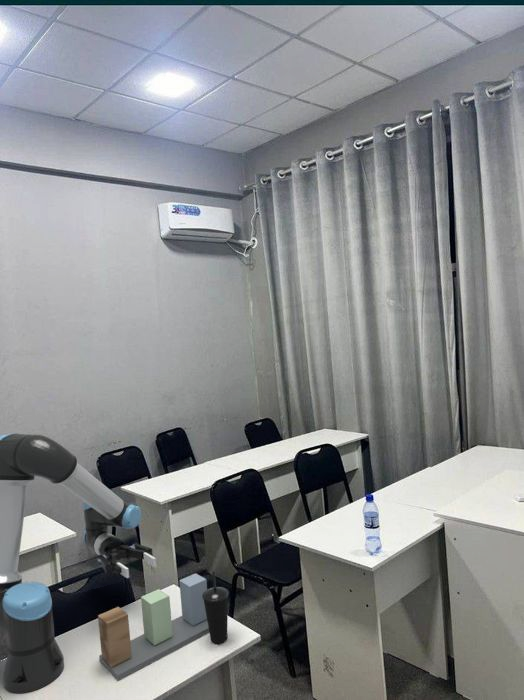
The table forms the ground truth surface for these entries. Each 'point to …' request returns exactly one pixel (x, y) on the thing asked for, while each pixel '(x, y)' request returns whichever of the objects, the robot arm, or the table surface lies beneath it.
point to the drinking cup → (216, 612)
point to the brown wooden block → (114, 636)
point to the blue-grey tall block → (193, 598)
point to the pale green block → (156, 616)
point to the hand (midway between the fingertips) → (141, 568)
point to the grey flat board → (157, 647)
